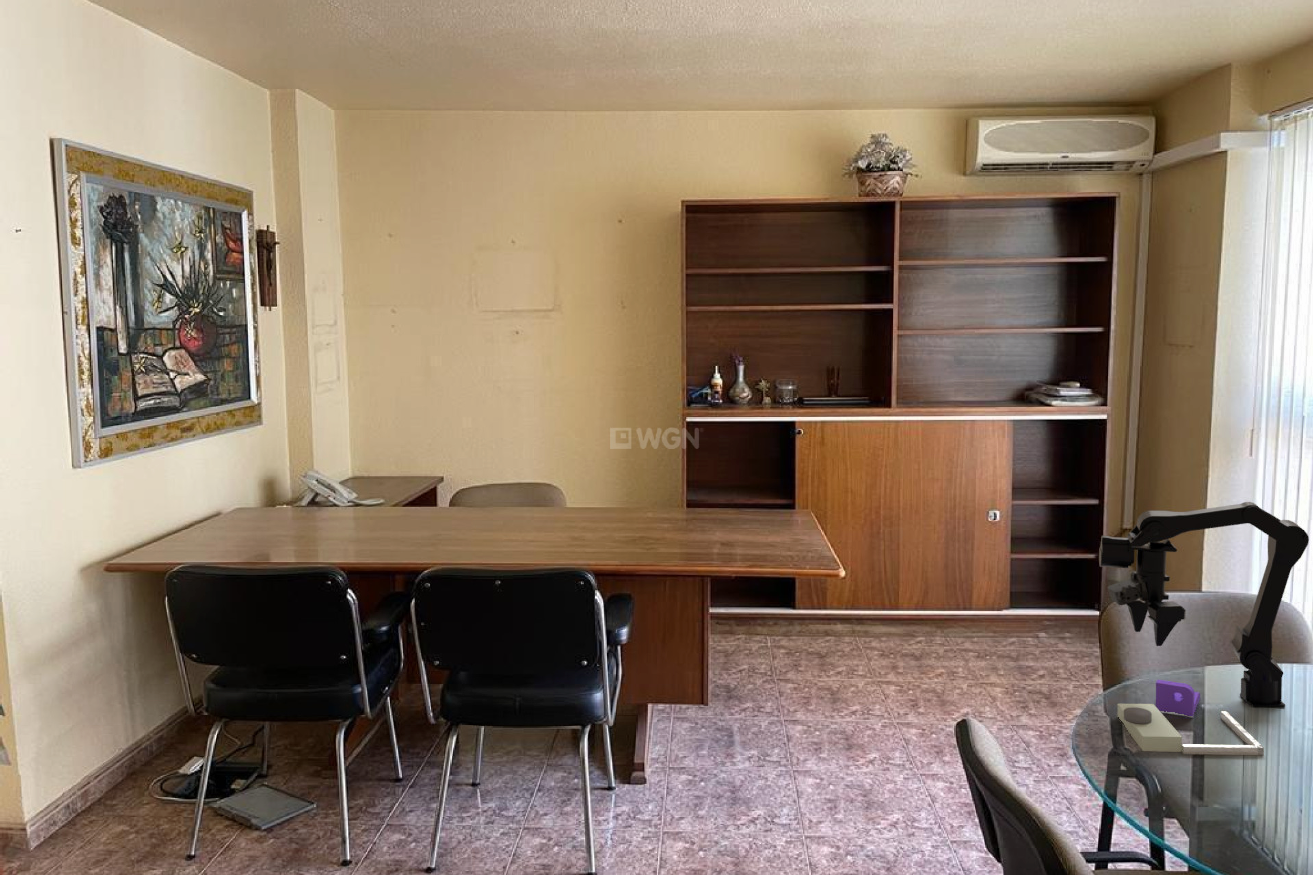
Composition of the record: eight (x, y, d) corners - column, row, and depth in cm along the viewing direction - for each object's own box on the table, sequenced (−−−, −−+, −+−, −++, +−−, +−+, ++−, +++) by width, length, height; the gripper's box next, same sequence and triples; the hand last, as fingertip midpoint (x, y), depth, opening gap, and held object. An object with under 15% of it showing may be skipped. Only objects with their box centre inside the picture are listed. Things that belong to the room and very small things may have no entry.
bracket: (1192, 719, 198) (1192, 688, 198) (1155, 713, 202) (1155, 682, 202) (1200, 699, 208) (1200, 669, 207) (1164, 694, 212) (1164, 664, 211)
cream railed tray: (1226, 718, 197) (1226, 697, 197) (1263, 755, 181) (1263, 732, 180) (1112, 717, 201) (1112, 696, 201) (1138, 753, 184) (1138, 730, 184)
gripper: (1094, 559, 218) (1092, 625, 220) (1134, 582, 199) (1131, 654, 201) (1143, 558, 218) (1140, 624, 220) (1188, 581, 199) (1185, 653, 201)
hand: (1147, 638), depth 211 cm, fingers open, 9 cm apart
